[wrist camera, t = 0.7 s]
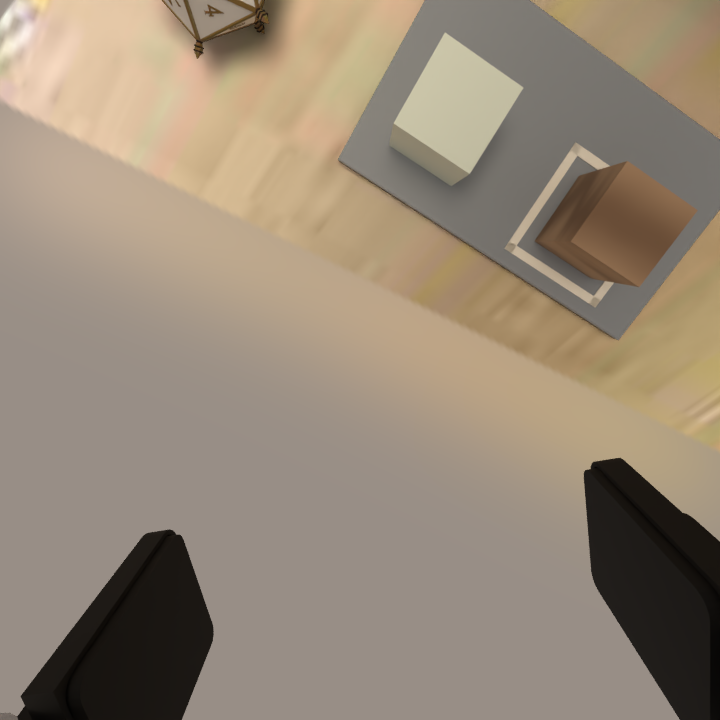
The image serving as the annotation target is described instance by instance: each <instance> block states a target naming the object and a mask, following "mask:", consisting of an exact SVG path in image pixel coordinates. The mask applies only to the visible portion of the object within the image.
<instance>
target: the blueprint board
mask: <svg viewBox="0 0 720 720" xmlns="http://www.w3.org/2000/svg"><path fill="white" fill-rule="evenodd" d="M444 33H447V34H448V35H450V36H451V37H452V38H454V39H455V40H457V41H458V42H459V43H461V44H462V45H464V46H465V47H467V48H468V49H469V50H471V51H472V52H474V53H475V54H476V55H478V56H479V57H481V58H482V59H484V60H485V61H486V62H488V63H489V64H491V65H492V66H494V67H495V68H496V69H498V70H499V71H501V72H502V73H503V74H505V75H506V76H508V77H509V78H511V79H512V80H513V81H515V82H516V83H518V84H519V85H521V86H522V87H523V89H522V91H521V93H520V94H519V96H518V97H517V99H516V101H515V102H514V104H513V105H512V107H511V109H510V110H509V112H508V113H507V115H506V117H505V118H504V120H503V122H502V123H501V125H500V126H499V128H498V130H497V131H496V133H495V134H494V136H493V138H492V139H491V141H490V142H489V144H488V146H487V147H486V149H485V150H484V152H483V154H482V155H481V157H480V158H479V160H478V162H477V163H476V165H475V166H474V168H473V170H472V171H471V173H470V174H469V175H468V176H466V177H465V178H463V179H461V180H460V181H458V182H457V183H455V184H454V185H452V186H450V185H448V184H447V183H445V182H444V181H442V180H441V179H439V178H438V177H436V176H435V175H433V174H432V173H430V172H429V171H427V170H426V169H424V168H423V167H421V166H420V165H418V164H417V163H415V162H414V161H412V160H410V159H409V158H407V157H406V156H404V155H403V154H401V153H400V152H398V151H397V150H395V149H394V148H392V147H391V146H389V143H390V138H391V133H392V128H393V123H394V122H395V120H396V118H397V116H398V114H399V113H400V111H401V109H402V107H403V106H404V104H405V102H406V100H407V99H408V97H409V95H410V93H411V92H412V90H413V88H414V86H415V84H416V83H417V81H418V79H419V77H420V76H421V74H422V72H423V70H424V69H425V67H426V65H427V63H428V62H429V60H430V58H431V56H432V54H433V53H434V51H435V49H436V47H437V46H438V44H439V42H440V40H441V39H442V37H443V35H444ZM338 160H339V162H341V163H342V164H344V165H346V166H347V167H349V168H350V169H352V170H353V171H355V172H356V173H358V174H360V175H361V176H363V177H364V178H366V179H367V180H369V181H370V182H372V183H374V184H375V185H377V186H378V187H380V188H381V189H383V190H384V191H386V192H387V193H389V194H391V195H392V196H394V197H395V198H397V199H398V200H400V201H401V202H403V203H405V204H406V205H408V206H409V207H411V208H412V209H414V210H415V211H417V212H418V213H420V214H422V215H423V216H425V217H426V218H428V219H429V220H431V221H432V222H434V223H436V224H437V225H439V226H440V227H442V228H443V229H445V230H446V231H448V232H450V233H451V234H453V235H454V236H456V237H457V238H459V239H460V240H462V241H463V242H465V243H467V244H468V245H470V246H471V247H473V248H474V249H476V250H477V251H479V252H481V253H482V254H484V255H485V256H487V257H488V258H490V259H491V260H493V261H494V262H496V263H498V264H499V265H501V266H502V267H504V268H505V269H507V270H508V271H510V272H512V273H513V274H515V275H516V276H518V277H519V278H521V279H522V280H524V281H525V282H527V283H529V284H530V285H532V286H533V287H535V288H536V289H538V290H539V291H541V292H543V293H544V294H546V295H547V296H549V297H550V298H552V299H553V300H555V301H557V302H558V303H560V304H561V305H563V306H564V307H566V308H567V309H569V310H570V311H572V312H574V313H575V314H577V315H578V316H580V317H581V318H583V319H584V320H586V321H588V322H589V323H591V324H592V325H594V326H595V327H597V328H598V329H600V330H601V331H603V332H605V333H606V334H608V335H609V336H611V337H612V338H614V339H617V340H619V339H620V338H621V336H622V335H623V334H624V333H625V331H626V330H627V329H628V327H629V326H630V325H631V323H632V322H633V321H634V320H635V318H636V317H637V316H638V314H639V313H640V312H641V311H642V309H643V308H644V307H645V305H646V304H647V303H648V302H649V300H650V299H651V298H652V296H653V295H654V294H655V292H656V291H657V290H658V289H659V287H660V286H661V285H662V283H663V282H664V281H665V280H666V278H667V277H668V276H669V274H670V273H671V272H672V271H673V269H674V268H675V267H676V265H677V264H678V263H679V262H680V260H681V259H682V258H683V256H684V255H685V254H686V252H687V251H688V250H689V249H690V247H691V246H692V245H693V243H694V242H695V241H696V240H697V238H698V237H699V236H700V234H701V233H702V232H703V231H704V229H705V228H706V227H707V225H708V224H709V223H710V222H711V220H712V219H713V218H714V216H715V215H716V214H717V212H718V211H719V210H720V139H718V138H717V137H716V136H714V135H713V134H712V133H710V132H709V131H707V130H706V129H705V128H703V127H702V126H701V125H699V124H698V123H696V122H695V121H694V120H692V119H691V118H690V117H688V116H687V115H686V114H684V113H683V112H681V111H680V110H679V109H677V108H676V107H675V106H673V105H672V104H671V103H669V102H668V101H666V100H665V99H664V98H662V97H661V96H660V95H658V94H657V93H656V92H654V91H653V90H651V89H650V88H649V87H647V86H646V85H645V84H643V83H642V82H641V81H639V80H638V79H636V78H635V77H634V76H632V75H631V74H630V73H628V72H627V71H625V70H624V69H623V68H621V67H620V66H619V65H617V64H616V63H615V62H613V61H612V60H610V59H609V58H608V57H606V56H605V55H604V54H602V53H601V52H600V51H598V50H597V49H595V48H594V47H593V46H591V45H590V44H589V43H587V42H586V41H585V40H583V39H582V38H580V37H579V36H578V35H576V34H575V33H574V32H572V31H571V30H569V29H568V28H567V27H565V26H564V25H563V24H561V23H560V22H559V21H557V20H556V19H554V18H553V17H552V16H550V15H549V14H548V13H546V12H545V11H544V10H542V9H541V8H539V7H538V6H537V5H535V4H534V3H533V2H531V1H530V0H425V1H424V3H423V5H422V7H421V8H420V10H419V12H418V14H417V16H416V18H415V19H414V21H413V23H412V25H411V27H410V29H409V30H408V32H407V34H406V36H405V38H404V40H403V41H402V43H401V45H400V47H399V49H398V50H397V52H396V54H395V56H394V58H393V60H392V61H391V63H390V65H389V67H388V69H387V71H386V72H385V74H384V76H383V78H382V80H381V82H380V83H379V85H378V87H377V89H376V91H375V92H374V94H373V96H372V98H371V100H370V102H369V103H368V105H367V107H366V109H365V111H364V113H363V114H362V116H361V118H360V120H359V122H358V123H357V125H356V127H355V129H354V131H353V133H352V134H351V136H350V138H349V140H348V142H347V144H346V145H345V147H344V149H343V151H342V153H341V155H340V156H339V158H338ZM626 161H628V162H630V163H631V164H633V165H634V166H636V167H637V168H638V169H640V170H641V171H643V172H644V173H645V174H647V175H648V176H650V177H651V178H653V179H654V180H655V181H657V182H658V183H660V184H661V185H663V186H664V187H665V188H667V189H668V190H670V191H671V192H672V193H674V194H675V195H677V196H678V197H680V198H681V199H682V200H684V201H685V202H687V203H688V204H690V205H691V206H692V207H694V208H695V209H697V210H698V211H697V212H696V213H695V215H694V216H693V217H692V219H691V220H690V221H689V223H688V224H687V225H686V227H685V228H684V229H683V230H682V232H681V233H680V234H679V236H678V237H677V238H676V240H675V241H674V242H673V244H672V245H671V246H670V248H669V249H668V250H667V251H666V253H665V254H664V255H663V257H662V258H661V259H660V261H659V262H658V263H657V265H656V266H655V267H654V269H653V270H652V271H651V272H650V274H649V275H648V276H647V278H646V279H645V280H644V282H643V283H642V284H641V286H640V287H636V286H630V285H624V284H619V283H613V282H607V281H602V280H596V279H591V278H590V277H588V276H586V275H585V274H583V273H582V272H580V271H579V270H577V269H576V268H574V267H573V266H571V265H570V264H568V263H567V262H565V261H564V260H562V259H561V258H559V257H558V256H556V255H555V254H553V253H552V252H550V251H549V250H547V249H546V248H544V247H542V246H541V245H539V244H538V243H536V242H535V239H536V238H537V237H538V235H539V234H540V232H541V231H542V229H543V228H544V226H545V225H546V223H547V222H548V220H549V219H550V218H551V216H552V215H553V213H554V212H555V210H556V209H557V207H558V206H559V204H560V203H561V201H562V200H563V199H564V197H565V196H566V194H567V193H568V191H569V190H570V188H571V187H572V185H573V184H574V182H575V181H576V180H577V178H578V177H579V176H580V175H583V174H586V173H590V172H593V171H596V170H599V169H603V168H606V167H609V166H612V165H616V164H619V163H622V162H626Z"/></svg>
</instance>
